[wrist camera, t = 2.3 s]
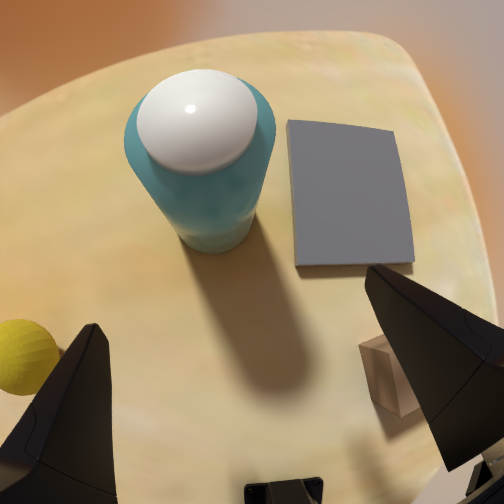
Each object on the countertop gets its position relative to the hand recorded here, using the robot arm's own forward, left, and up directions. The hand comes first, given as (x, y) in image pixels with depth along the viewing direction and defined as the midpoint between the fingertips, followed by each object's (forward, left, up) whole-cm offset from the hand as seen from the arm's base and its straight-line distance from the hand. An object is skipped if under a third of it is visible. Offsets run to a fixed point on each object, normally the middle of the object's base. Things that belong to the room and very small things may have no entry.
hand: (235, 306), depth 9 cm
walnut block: (-5, -13, -13) cm, 19 cm away
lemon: (-4, +15, -13) cm, 20 cm away
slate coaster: (+9, -10, -13) cm, 18 cm away
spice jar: (+7, +1, -13) cm, 14 cm away
